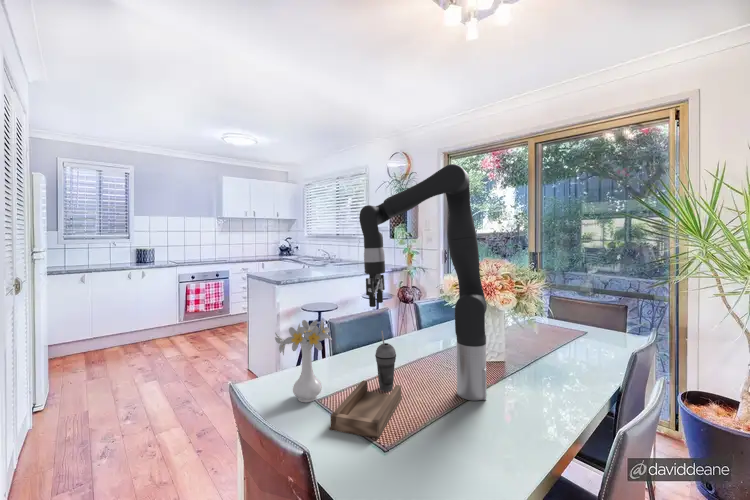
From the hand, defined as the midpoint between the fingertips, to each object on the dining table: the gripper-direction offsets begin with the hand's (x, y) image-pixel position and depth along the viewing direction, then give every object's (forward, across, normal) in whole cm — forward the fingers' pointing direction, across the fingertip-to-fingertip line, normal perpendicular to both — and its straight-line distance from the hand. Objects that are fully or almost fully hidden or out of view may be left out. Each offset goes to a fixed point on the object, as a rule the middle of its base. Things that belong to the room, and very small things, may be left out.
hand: (376, 304), depth 126 cm
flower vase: (+27, -22, +18) cm, 39 cm away
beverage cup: (+28, -8, -5) cm, 29 cm away
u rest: (+28, -24, -4) cm, 37 cm away
